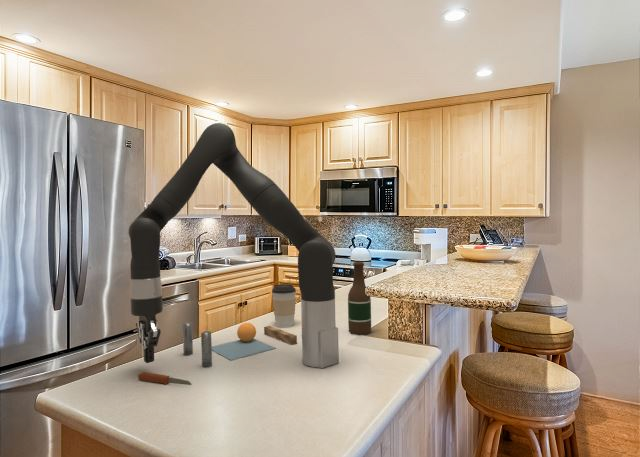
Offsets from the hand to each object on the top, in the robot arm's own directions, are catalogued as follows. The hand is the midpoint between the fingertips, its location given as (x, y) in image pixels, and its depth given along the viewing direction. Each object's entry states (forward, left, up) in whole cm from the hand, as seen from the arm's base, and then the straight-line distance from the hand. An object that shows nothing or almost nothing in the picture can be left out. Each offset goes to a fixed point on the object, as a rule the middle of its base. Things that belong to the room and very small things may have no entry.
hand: (149, 361), depth 102 cm
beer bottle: (-13, -65, -3) cm, 66 cm away
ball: (+5, -32, 0) cm, 32 cm away
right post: (-6, -13, -3) cm, 15 cm away
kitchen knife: (-10, -1, -3) cm, 11 cm away
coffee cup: (+13, -52, -3) cm, 54 cm away
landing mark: (0, -27, -3) cm, 27 cm away
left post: (+7, -13, -3) cm, 15 cm away
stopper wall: (0, -41, -3) cm, 41 cm away
